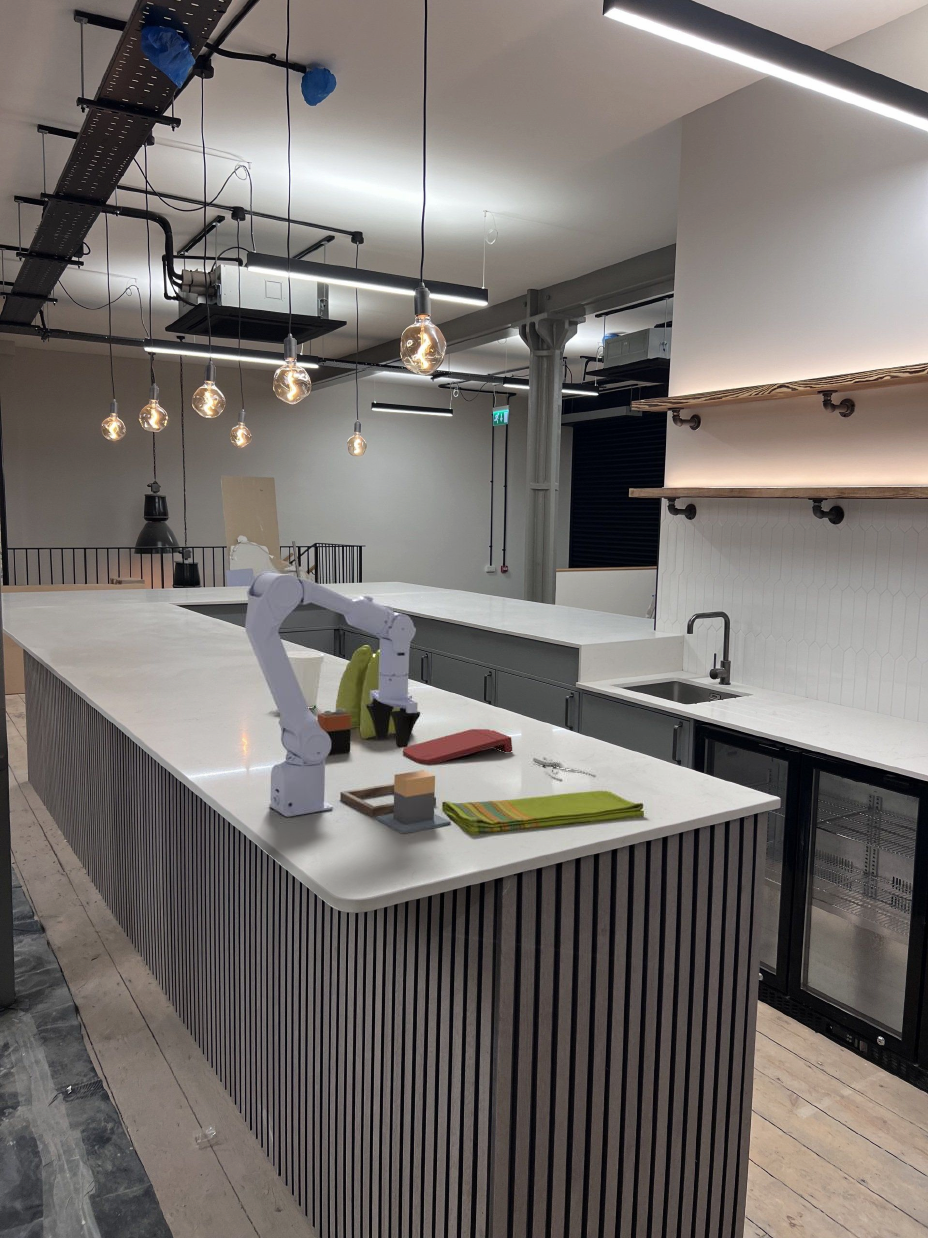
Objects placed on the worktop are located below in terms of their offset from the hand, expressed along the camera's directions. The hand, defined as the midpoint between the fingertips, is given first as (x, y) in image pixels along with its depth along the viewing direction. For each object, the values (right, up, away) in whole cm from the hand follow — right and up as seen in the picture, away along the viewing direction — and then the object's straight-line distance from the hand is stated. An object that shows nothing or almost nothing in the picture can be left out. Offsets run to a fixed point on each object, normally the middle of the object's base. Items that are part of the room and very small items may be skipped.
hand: (391, 742), depth 173 cm
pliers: (+35, -10, +24) cm, 44 cm away
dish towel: (+29, -13, -7) cm, 32 cm away
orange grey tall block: (+5, -12, -15) cm, 19 cm away
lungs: (-9, -5, +57) cm, 58 cm away
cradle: (0, -11, -4) cm, 12 cm away
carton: (+13, -8, +36) cm, 39 cm away
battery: (-16, -7, +33) cm, 37 cm away
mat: (+5, -12, -15) cm, 20 cm away
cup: (-33, -1, +84) cm, 91 cm away
